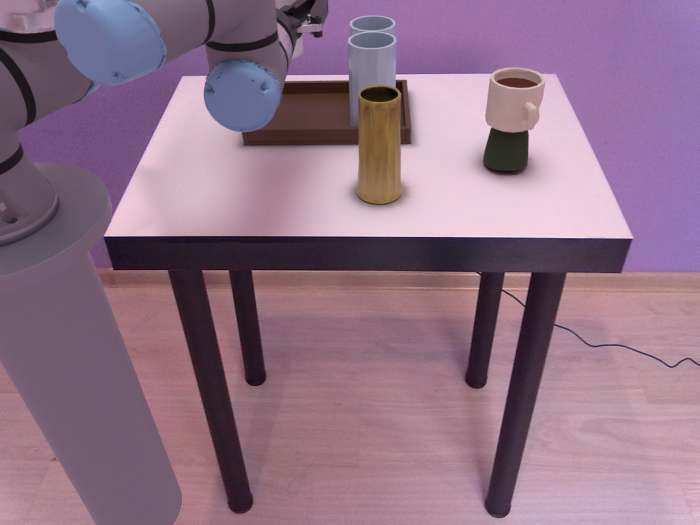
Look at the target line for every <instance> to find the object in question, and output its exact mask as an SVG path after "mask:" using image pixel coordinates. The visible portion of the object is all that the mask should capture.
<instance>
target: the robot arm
mask: <svg viewBox="0 0 700 525" xmlns="http://www.w3.org/2000/svg"><path fill="white" fill-rule="evenodd" d="M328 15H329V0H297V1H296V2H294V3H293V4H292V5H290V6H289V5H284V6H283V7H282V8H280V9H277V8H276V6H275V0H0V246H4V245H8V244H11V243H14V242H17V241H19V240H22V239H24V238H26V237H28V236H30V235H32V234H34V233H35V232H37V231H38V230H40V229H41V228H43V227H44V226H45V225H47V224H48V223H49V222H50V221H51V220H52V219H53V217H54V216H55V215H56V213H57V211H58V209H59V198H58V196H57V193H56V191H55V189H54V187H53V186H52V184H51V183H50V182H49V181H48V180H47V179H46V178H45V177H44V176H43V175H42V173H41V172H40V171H39V170H38V168H37V167H36V166H35V165H34V164H33V163H34V162H33V161H32V160H31V159H30V158H29V156H27V154H26V153H25V150H24V148H23V146H22V143H21V141H20V138H19V136H18V134H17V133H18V132H19V131H20V130H22V129H23V128H26V127H27V126H29V125H33V123H36V122H38V121H40V120H41V119H43V118H45V117H47V116H49V115H52V114H54V113H55V112H57V111H59V110H62V109H63V108H65V107H68V106H69V105H74V104H77V103H79V102H81V101H83V99H85V98H87V96H89V95H90V94H92V93H94V92H96V91H97V90H98V89H99V88H100V87H101V86H106V87H116V86H120V85H123V84H126V83H129V82H132V81H133V80H136V79H139V78H143V77H144V76H147V75H151V74H154V73H155V72H157V71H158V70H160V69H161V68H162V67H164V66H165V65H167V64H169V63H170V62H173V61H175V60H176V59H178V58H180V57H181V56H184V55H185V54H187V53H189V52H191V51H193V50H195V49H198V48H199V47H202V46H204V47H205V52H206V53H205V54H206V58H207V64H208V69H209V72H208V74H207V75H206V77H205V82H204V88H203V102H204V106H205V108H206V110H207V112H208V113H209V115H210V116H211V117H212V119H213V120H214V121H215V122H216V123H217V124H219V125H220V126H221V127H223V128H225V129H227V130H230V131H233V132H237V133H238V132H239V133H242V132H252V131H255V130H258V129H260V128H262V127H264V126H265V125H266V124H267V123H268V122H269V121H270V120H271V119H272V117H273V116H274V113H275V111H276V108H278V106H279V105H280V101H281V100H282V91H283V87H284V83H285V81H287V80H286V79H287V76H288V73H289V70H290V65H291V63H292V62H291V61H292V60H293V59H292V56H293V52H294V49H295V45H296V41H297V39H299V38H300V37H301V36H302V33H303V34H306V33H307V34H308V35H311V36H313V38H316V39H319V38H322V37H323V36H324V34H323V32H324V31H323V27H324V24H325V23H326V20H327V18H328Z"/></svg>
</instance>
